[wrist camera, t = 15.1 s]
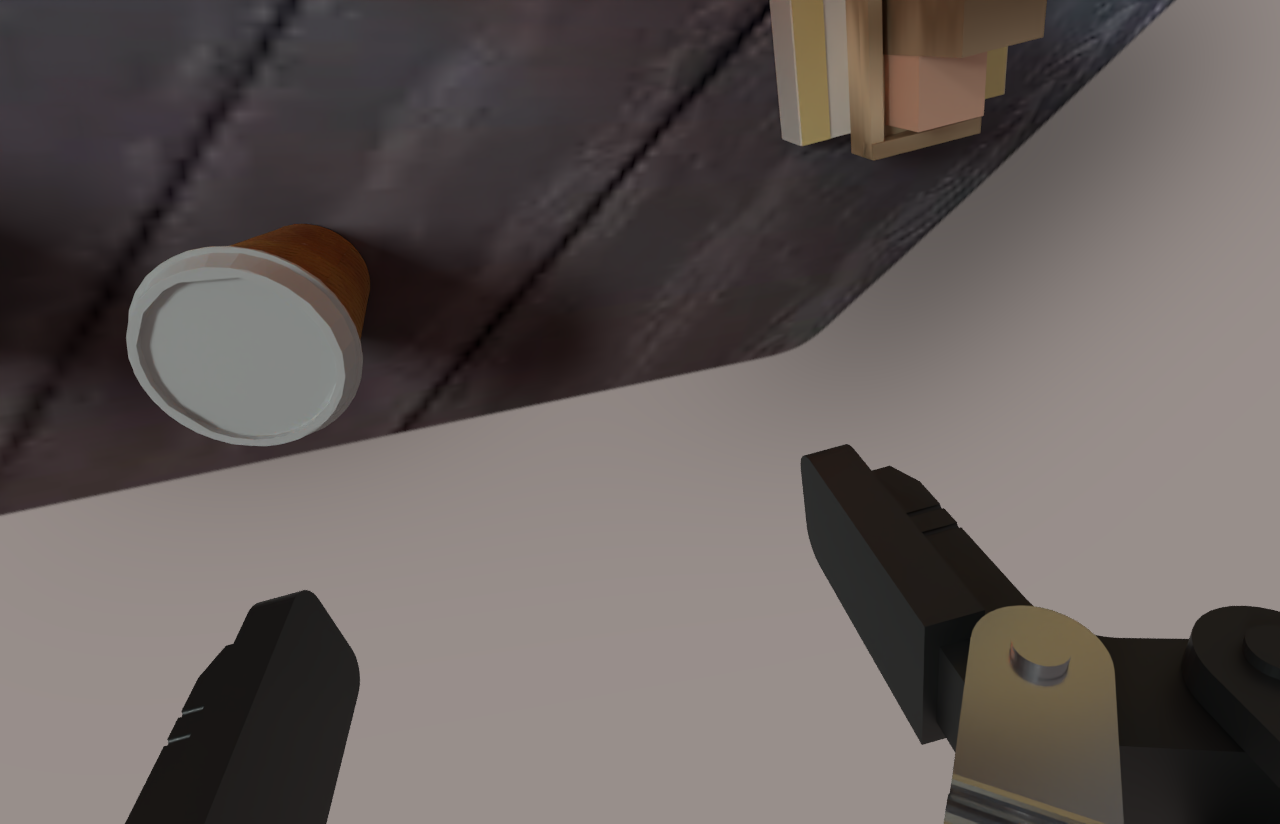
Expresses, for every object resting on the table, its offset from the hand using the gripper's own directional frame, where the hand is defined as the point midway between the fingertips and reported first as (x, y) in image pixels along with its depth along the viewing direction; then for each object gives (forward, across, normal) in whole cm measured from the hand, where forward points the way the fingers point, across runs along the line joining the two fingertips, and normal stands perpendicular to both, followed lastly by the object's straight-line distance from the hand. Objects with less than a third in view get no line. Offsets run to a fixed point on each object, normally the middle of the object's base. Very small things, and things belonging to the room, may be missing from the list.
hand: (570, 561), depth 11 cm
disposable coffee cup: (+32, +14, +2) cm, 35 cm away
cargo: (+28, -21, -1) cm, 35 cm away
